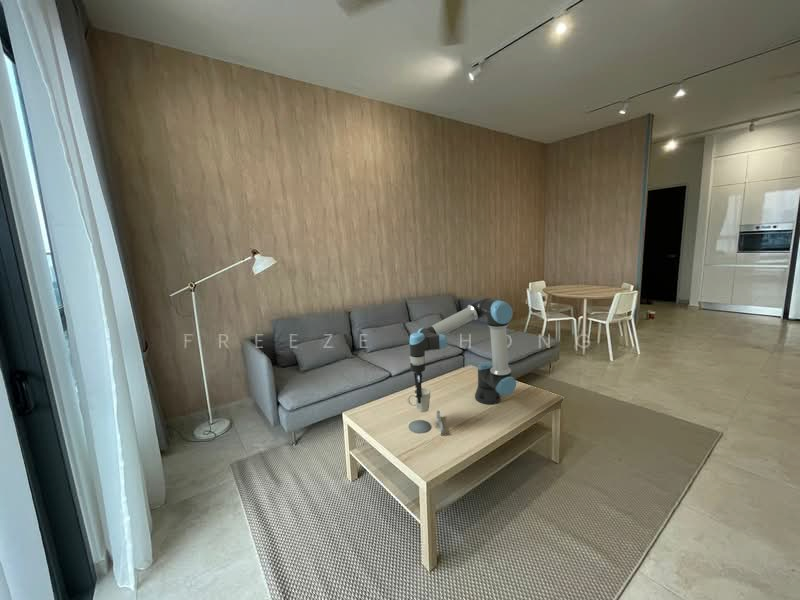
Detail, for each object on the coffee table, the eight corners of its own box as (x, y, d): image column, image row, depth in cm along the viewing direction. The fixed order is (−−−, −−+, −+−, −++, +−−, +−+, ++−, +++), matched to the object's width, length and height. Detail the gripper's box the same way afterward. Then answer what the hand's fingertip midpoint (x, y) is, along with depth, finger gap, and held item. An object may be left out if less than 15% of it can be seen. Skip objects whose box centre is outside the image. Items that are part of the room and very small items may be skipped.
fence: (439, 417, 177) (439, 410, 177) (444, 435, 160) (443, 428, 159) (436, 417, 177) (436, 410, 177) (440, 435, 160) (440, 428, 159)
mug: (430, 414, 162) (429, 395, 160) (405, 412, 164) (405, 394, 163) (431, 406, 170) (431, 388, 169) (408, 405, 172) (408, 387, 171)
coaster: (429, 420, 175) (429, 419, 175) (432, 432, 163) (432, 432, 163) (408, 421, 175) (408, 420, 175) (408, 433, 163) (408, 433, 163)
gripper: (409, 356, 173) (411, 394, 177) (411, 371, 152) (412, 414, 156) (423, 355, 173) (424, 394, 177) (426, 370, 152) (427, 414, 156)
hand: (418, 403), depth 167 cm, fingers closed on mug, 8 cm apart
